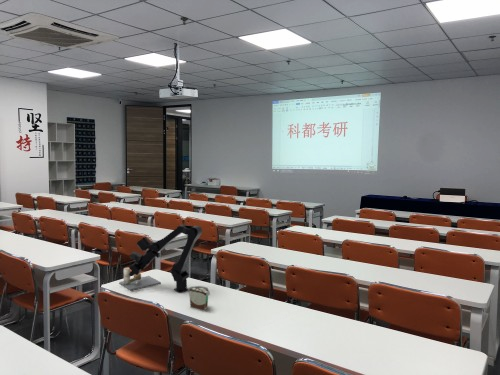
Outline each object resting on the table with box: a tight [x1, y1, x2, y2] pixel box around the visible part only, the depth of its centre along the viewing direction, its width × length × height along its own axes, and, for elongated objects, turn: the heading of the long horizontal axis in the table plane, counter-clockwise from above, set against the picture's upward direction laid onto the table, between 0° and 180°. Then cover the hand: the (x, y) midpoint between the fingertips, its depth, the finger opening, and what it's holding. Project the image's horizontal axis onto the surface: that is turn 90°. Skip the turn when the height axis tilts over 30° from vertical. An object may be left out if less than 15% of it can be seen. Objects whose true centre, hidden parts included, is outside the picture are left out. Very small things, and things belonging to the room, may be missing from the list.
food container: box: [187, 285, 211, 312], centre depth 196 cm, size 12×6×10 cm, turn 58°
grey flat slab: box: [118, 275, 162, 292], centre depth 231 cm, size 16×19×1 cm
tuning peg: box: [123, 267, 142, 284], centre depth 231 cm, size 13×4×9 cm, turn 156°
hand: (129, 275), depth 226 cm, fingers closed
